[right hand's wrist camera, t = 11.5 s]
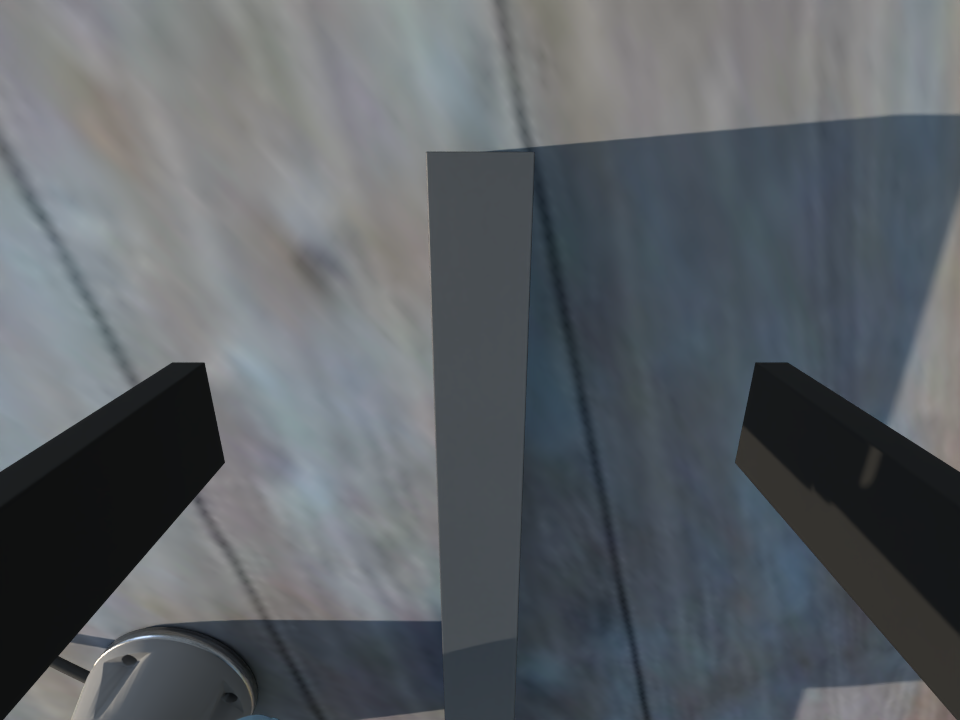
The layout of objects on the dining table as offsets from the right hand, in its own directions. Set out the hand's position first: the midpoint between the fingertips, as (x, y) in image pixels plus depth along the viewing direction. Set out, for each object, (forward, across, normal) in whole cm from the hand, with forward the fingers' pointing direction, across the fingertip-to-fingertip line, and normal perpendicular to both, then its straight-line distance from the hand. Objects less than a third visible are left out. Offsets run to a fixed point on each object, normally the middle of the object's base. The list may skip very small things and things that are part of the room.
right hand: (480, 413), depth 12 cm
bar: (+25, 0, -32) cm, 40 cm away
